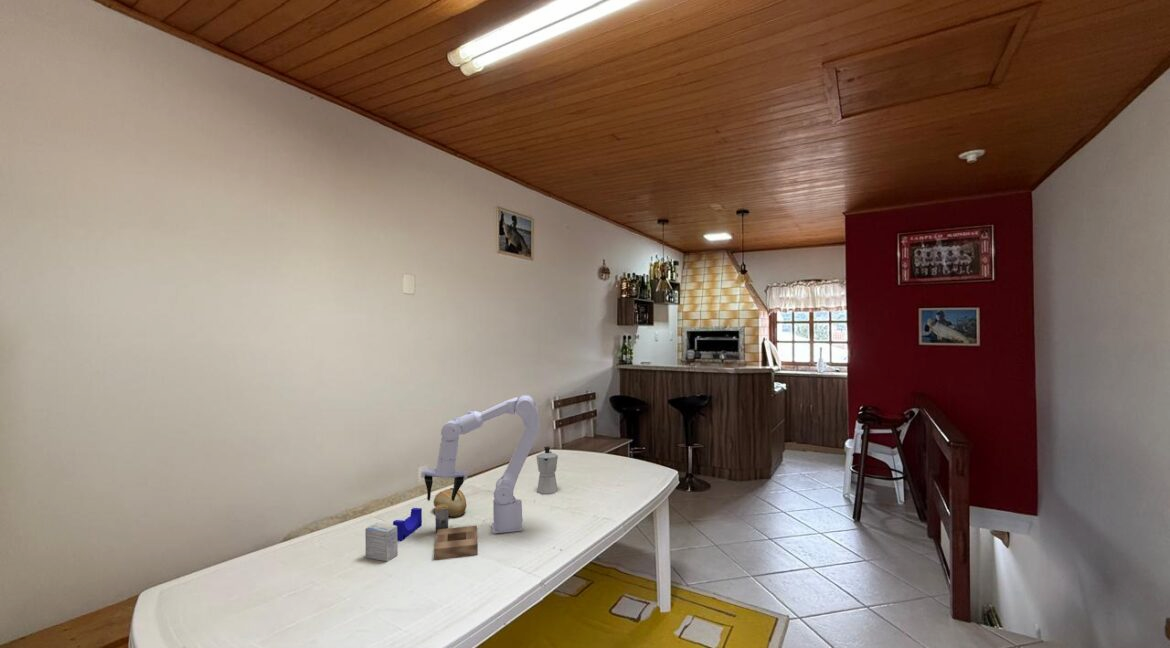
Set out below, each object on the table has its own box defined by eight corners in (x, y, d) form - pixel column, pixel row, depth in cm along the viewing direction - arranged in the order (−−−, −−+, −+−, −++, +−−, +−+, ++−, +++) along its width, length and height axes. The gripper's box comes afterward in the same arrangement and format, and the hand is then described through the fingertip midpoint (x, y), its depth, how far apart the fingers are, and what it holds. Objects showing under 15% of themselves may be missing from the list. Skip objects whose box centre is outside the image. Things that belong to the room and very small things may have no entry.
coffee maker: (556, 496, 185) (556, 450, 186) (534, 496, 186) (534, 450, 186) (559, 484, 200) (559, 441, 201) (538, 484, 200) (538, 442, 201)
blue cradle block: (409, 525, 159) (409, 507, 159) (421, 526, 158) (421, 508, 158) (388, 540, 147) (388, 521, 147) (401, 541, 146) (401, 522, 146)
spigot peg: (448, 528, 156) (448, 503, 156) (448, 533, 152) (448, 508, 152) (435, 529, 155) (435, 504, 155) (435, 534, 151) (435, 509, 151)
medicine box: (398, 555, 137) (398, 525, 137) (387, 562, 132) (387, 531, 133) (376, 551, 139) (376, 522, 139) (364, 558, 135) (364, 527, 135)
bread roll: (450, 503, 179) (450, 482, 179) (473, 513, 169) (473, 490, 169) (427, 511, 171) (427, 488, 172) (450, 521, 162) (450, 498, 162)
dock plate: (476, 534, 150) (476, 525, 150) (477, 554, 136) (477, 544, 137) (437, 539, 147) (437, 529, 147) (434, 559, 134) (434, 549, 134)
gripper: (467, 455, 160) (461, 495, 160) (423, 453, 155) (416, 494, 154) (470, 461, 154) (464, 503, 153) (424, 459, 148) (417, 502, 148)
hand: (440, 499), depth 153 cm, fingers open, 7 cm apart
